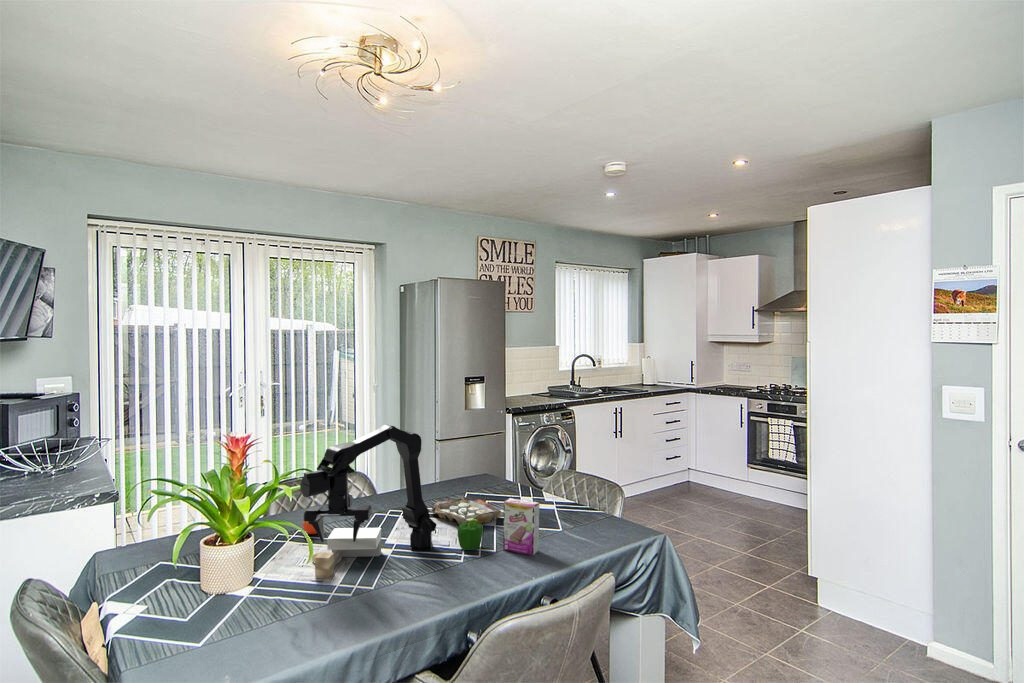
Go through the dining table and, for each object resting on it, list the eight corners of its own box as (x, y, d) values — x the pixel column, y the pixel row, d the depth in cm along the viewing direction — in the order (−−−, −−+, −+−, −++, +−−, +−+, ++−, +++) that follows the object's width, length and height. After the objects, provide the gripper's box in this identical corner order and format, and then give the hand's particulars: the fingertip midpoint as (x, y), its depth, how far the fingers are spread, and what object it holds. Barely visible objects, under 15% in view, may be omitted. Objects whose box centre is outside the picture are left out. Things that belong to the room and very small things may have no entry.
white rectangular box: (381, 551, 186) (381, 527, 186) (376, 563, 177) (376, 537, 177) (334, 552, 185) (334, 528, 185) (327, 564, 176) (327, 538, 176)
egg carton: (418, 515, 224) (418, 502, 223) (459, 502, 239) (459, 490, 239) (469, 534, 203) (469, 519, 203) (511, 519, 219) (511, 505, 219)
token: (331, 558, 181) (331, 552, 181) (324, 564, 176) (324, 559, 176) (316, 557, 182) (316, 552, 181) (309, 564, 177) (309, 558, 177)
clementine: (315, 539, 197) (315, 518, 196) (297, 537, 198) (297, 517, 198) (327, 531, 204) (327, 511, 204) (309, 529, 206) (309, 510, 206)
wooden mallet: (346, 557, 181) (346, 539, 181) (328, 578, 166) (328, 558, 166) (334, 557, 181) (334, 538, 181) (315, 577, 166) (315, 557, 166)
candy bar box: (502, 550, 188) (502, 501, 187) (508, 545, 192) (509, 497, 192) (533, 556, 183) (534, 506, 183) (539, 551, 188) (539, 502, 187)
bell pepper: (452, 548, 189) (452, 518, 189) (470, 541, 196) (470, 512, 195) (469, 555, 184) (469, 524, 184) (487, 548, 190) (487, 518, 190)
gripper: (375, 481, 176) (375, 530, 176) (314, 482, 175) (315, 532, 175) (367, 492, 164) (368, 545, 165) (302, 493, 164) (303, 546, 164)
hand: (338, 541), depth 168 cm, fingers open, 9 cm apart
